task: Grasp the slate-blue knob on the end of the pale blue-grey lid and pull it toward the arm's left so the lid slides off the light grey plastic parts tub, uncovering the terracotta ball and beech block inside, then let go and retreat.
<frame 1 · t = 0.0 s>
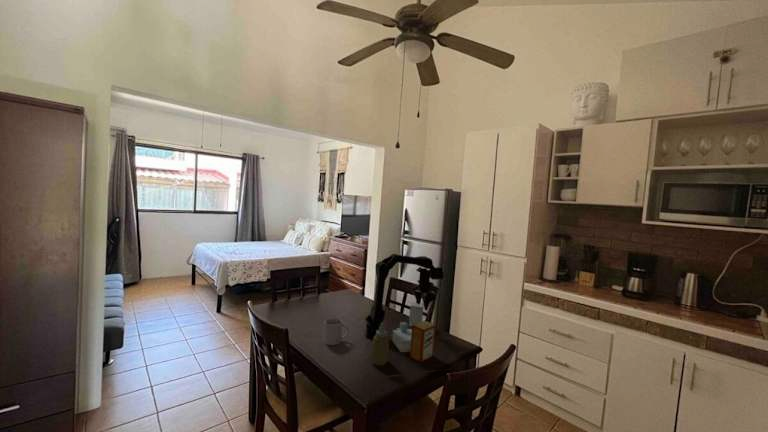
hand: (422, 307, 171), 15 cm above the table, fingers open, 9 cm apart
ball: (404, 348, 151), point 1 cm above the table, touching tub
supplement box: (415, 325, 182), on the table
lid: (406, 330, 155), point 8 cm above the table, slide at 0.0 cm
baking soda box: (421, 357, 145), on the table
tub: (405, 346, 155), on the table
squeeze bottle: (379, 363, 137), on the table
block: (406, 343, 157), point 1 cm above the table, touching tub
mug: (334, 341, 155), on the table
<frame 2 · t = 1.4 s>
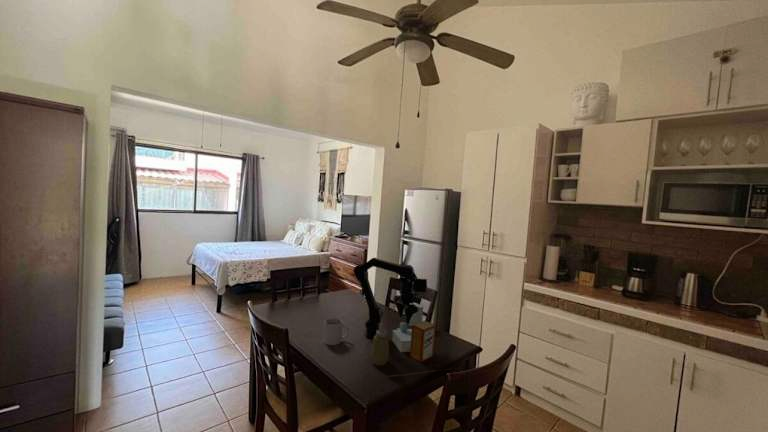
hand: (404, 320, 159), 12 cm above the table, fingers open, 9 cm apart
nothing on the table moved.
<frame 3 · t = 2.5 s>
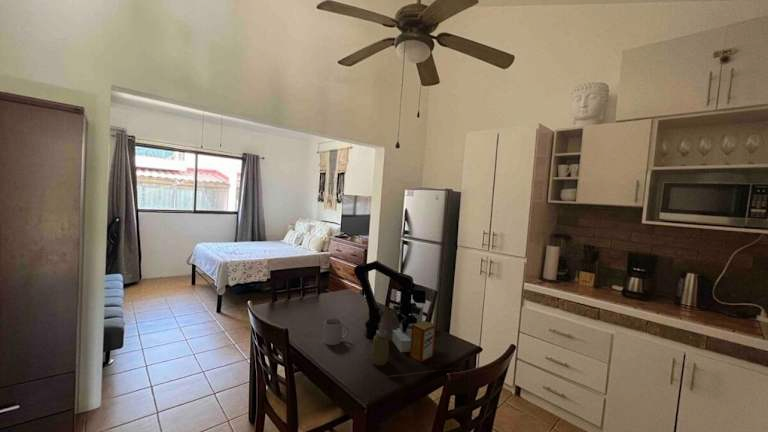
hand: (403, 330, 159), 6 cm above the table, fingers closed on lid, 3 cm apart
lid: (406, 330, 155), point 8 cm above the table, slide at 0.0 cm, touching gripper
everything else where it was.
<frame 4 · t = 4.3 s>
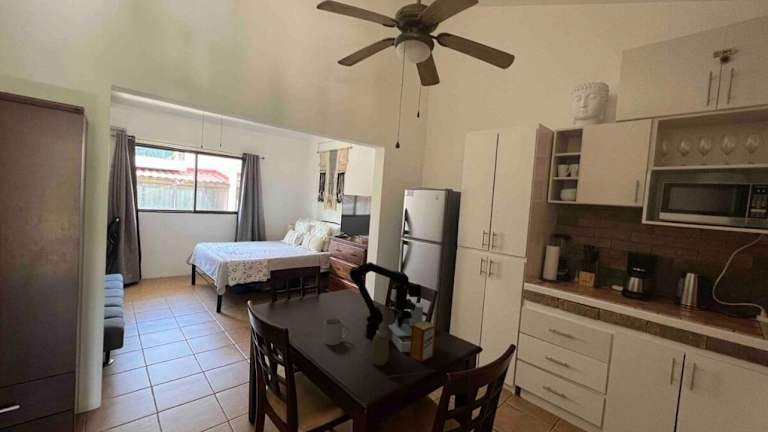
hand: (398, 325, 165), 6 cm above the table, fingers closed on lid, 3 cm apart
lid: (401, 325, 161), point 8 cm above the table, slide at 6.4 cm, touching gripper
everything else where it was.
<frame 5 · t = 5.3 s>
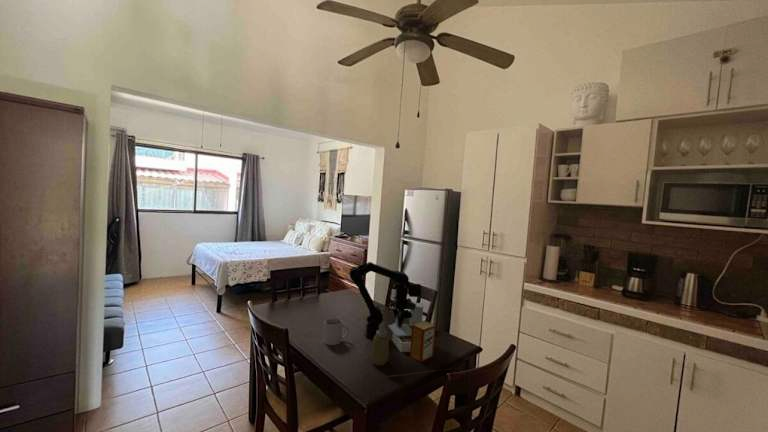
hand: (398, 324, 165), 7 cm above the table, fingers open, 3 cm apart
lid: (401, 325, 161), point 8 cm above the table, slide at 6.5 cm
everything else where it was.
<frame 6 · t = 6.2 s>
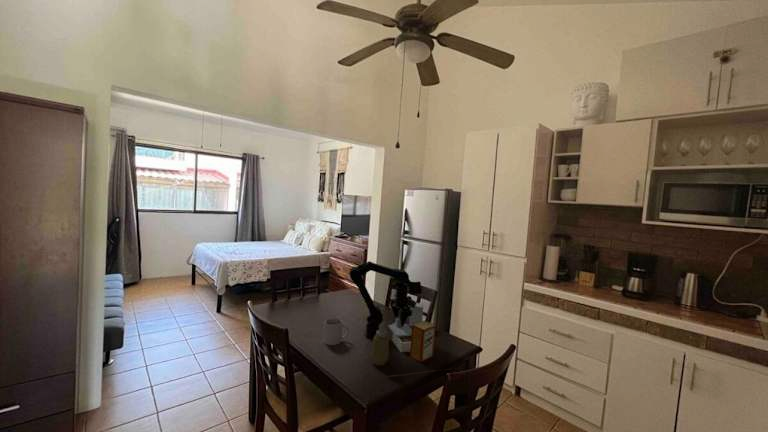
hand: (399, 322, 165), 8 cm above the table, fingers open, 9 cm apart
nothing on the table moved.
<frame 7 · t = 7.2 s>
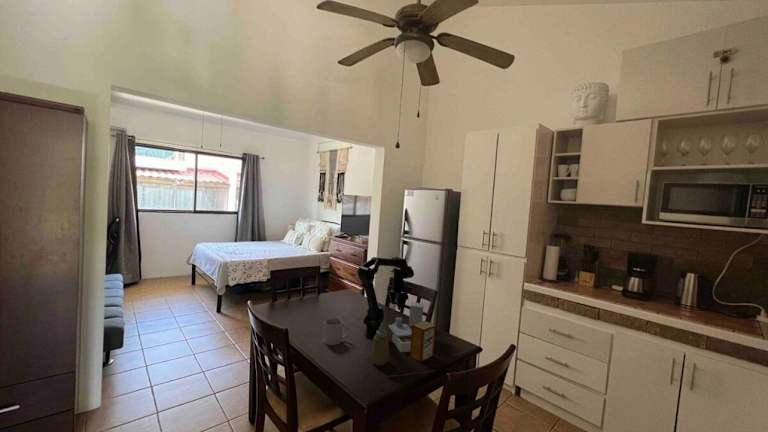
hand: (396, 307, 175), 13 cm above the table, fingers open, 9 cm apart
nothing on the table moved.
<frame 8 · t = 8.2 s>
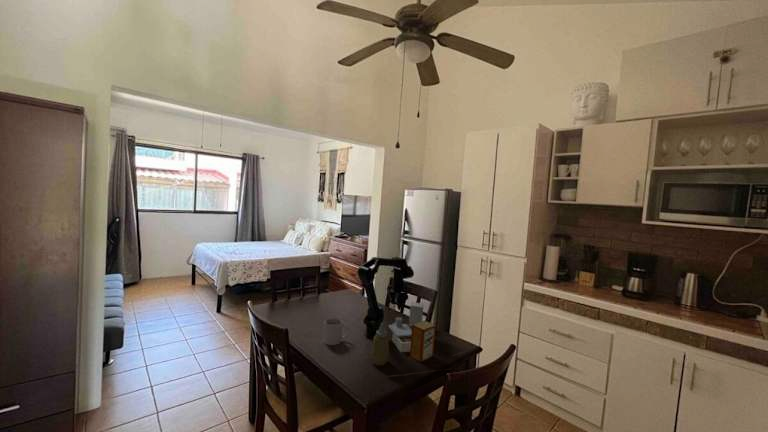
hand: (396, 306, 175), 12 cm above the table, fingers open, 9 cm apart
nothing on the table moved.
at the end: lid slide at 6.5 cm; the gripper is holding nothing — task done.
